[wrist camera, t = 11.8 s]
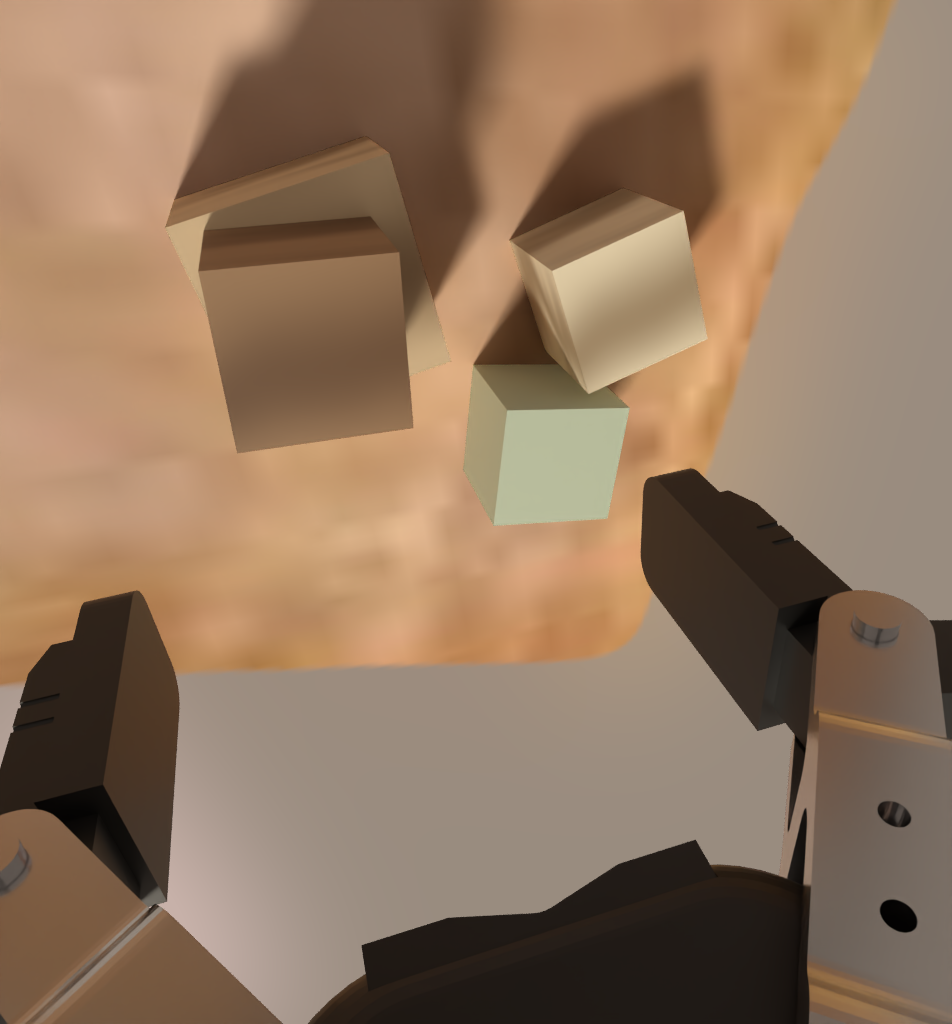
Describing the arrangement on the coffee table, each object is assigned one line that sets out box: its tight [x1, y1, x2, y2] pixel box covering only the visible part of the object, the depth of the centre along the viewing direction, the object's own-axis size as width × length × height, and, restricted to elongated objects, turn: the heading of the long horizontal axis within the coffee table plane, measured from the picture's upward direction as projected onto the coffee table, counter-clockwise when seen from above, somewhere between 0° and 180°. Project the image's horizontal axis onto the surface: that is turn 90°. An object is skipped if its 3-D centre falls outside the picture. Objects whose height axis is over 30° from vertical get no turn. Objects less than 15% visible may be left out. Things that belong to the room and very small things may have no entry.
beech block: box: [510, 188, 707, 394], centre depth 30 cm, size 5×5×5 cm
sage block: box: [463, 364, 630, 526], centre depth 33 cm, size 5×5×5 cm
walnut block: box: [198, 216, 413, 453], centre depth 23 cm, size 5×5×5 cm
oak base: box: [165, 136, 451, 376], centre depth 27 cm, size 7×7×5 cm
